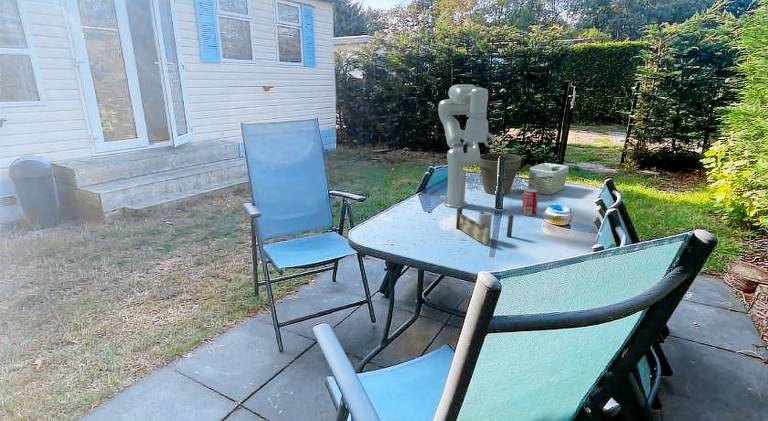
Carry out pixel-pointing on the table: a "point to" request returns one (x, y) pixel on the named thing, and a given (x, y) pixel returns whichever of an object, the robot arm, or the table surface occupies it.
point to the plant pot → (490, 171)
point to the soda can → (530, 202)
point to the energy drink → (485, 221)
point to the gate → (473, 229)
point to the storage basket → (547, 178)
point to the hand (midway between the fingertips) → (475, 153)
